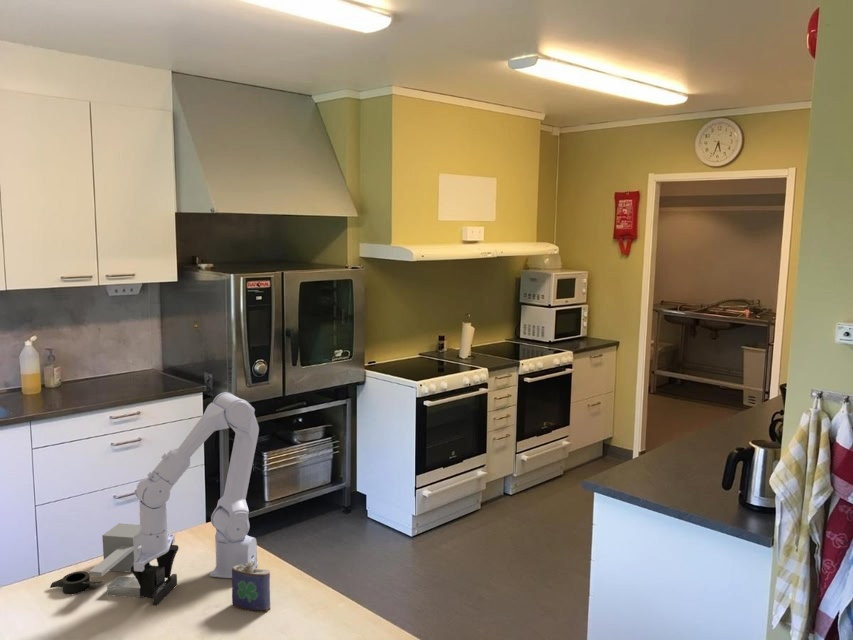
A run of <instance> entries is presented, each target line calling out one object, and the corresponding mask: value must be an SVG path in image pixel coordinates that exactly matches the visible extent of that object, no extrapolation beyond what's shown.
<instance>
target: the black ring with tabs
mask: <svg viewBox="0 0 853 640" xmlns="http://www.w3.org/2000/svg"><path fill="white" fill-rule="evenodd" d="M102 582H103V581H102V580H91V577H90V576H89V571H83V570H82V571H80V570H79V571H74V572H71V573H68V574H65V575H64V577H62V578H60V579H58V580H56V581H53V582H52V583H51V584H50V586H49V588H50V589H51V588H52V589H53V588H61V590H62V593H63V594H65V595H68V594H69V596H70V595H71V596H72V594H73V595H77V594H81V593H83V592H86V591H88V590H89V589H90V587H91V585H97V584H101V583H102Z"/></svg>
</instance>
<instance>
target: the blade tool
mask: <svg viewBox="0 0 853 640" xmlns="http://www.w3.org/2000/svg"><path fill="white" fill-rule="evenodd" d="M150 565H151V566H153V567H158V569H157V572H156V575H155V580H154V592H153V594H152V595H151V596H150V595H143V593H142V590H141V587H140V585H139V582H138V580H137V579H136V577H135V576H134V577H133V576H124V575H123V576H121V575H117V576H116V577H115V578H114V579H113V580H112V581H110V582H109V583H108V584H107V585H106V588H107V589H106V590H107V591H106V593H107V596H110V595H115V596H114V597H121V596H126V597H125V598H132V597H135V599H141V598H145V597H147V599H152V606H155V607H156V606H157V605H158V606H159V604H161V603H162V602H163V601H164V600H165V598H166V597H168V595H170V593H171V592H173V590H174V589H175V588H176V587H177V586H178V574H177V573H171V574H170V577H169V578H165V571H164V566H158V565H152V564H150ZM176 585H177V586H176ZM175 586H176V587H175ZM174 587H175V588H174ZM140 597H141V598H140Z"/></svg>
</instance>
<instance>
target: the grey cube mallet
mask: <svg viewBox="0 0 853 640" xmlns="http://www.w3.org/2000/svg"><path fill="white" fill-rule="evenodd" d="M101 538H102V552H103V553H102V555H103V560H101V561H100V562H99V563H97V565H95V566H93V568H91V569H90V570H89V571H88V573H89V576H91V577H104V575H106V574H107V573H108V572H109V571H111V572H113V571H114V572H122V571H127V573H132V572H131V567H132V566H133V565H134V562H135V561H136V560H137V557H138V555H139V553H140V552H138V551H137V548H138V547H139V546H141V531H140V524H133V523H132V524H131V523H117V524H116V525H115V526H112V527H111V528H110V529H109V530H107V531H106V532H105V533H103V534H102V537H101Z"/></svg>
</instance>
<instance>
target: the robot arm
mask: <svg viewBox="0 0 853 640" xmlns="http://www.w3.org/2000/svg"><path fill="white" fill-rule="evenodd" d="M205 408H206V409H205V411H204V413H203V415H201V417H200V419H199V420H198V421H197V423H196V424H195V425H194V427H193V428H192V430H191V431H190V432H189V434H188V435H187V436H186V437H185V439H184V440H183V441H182V442H181V444H180V445H179V447H178V448H174V449H170V450H169V451H168V452H167V453H164V454H163V455H162V456H161V461H160V462H159V463H158V464H157V465H156V466H155V468H154V469H153V470H152V471H150V472H149V473H148V474H147V476H146V477H144V478H142V479H141V480H140V481H139V482H138V484H137V485H136V489H135V490H134V493H135V496H136V497H137V499H138V500H139V525H140V531H141V546H139V547H138V548H137V551H138V552H140V553H139V555H138V557H137V560H136V561H135V562H134V565H133V566H132V567H131V572H130V573H131V574H132V575H133V576H134V577H136V579H137V580H138V582H139V585H140V587H141V590H142V593H143V595H150V596H151V595H152V594H153V592H154V580H155V575H156V572H157V569H158V567H153V566H154V565H153V566H151V565H152V564H151V563H150V562H153V560H156V562H157V566H164V571H165V579H168V578H169V577H170V576H171V575H172V569H173V564H174V560H175V557H176V554H178V553H177V552H178V551H179V545H177V544H174V543H176V538H175V537H176V535H175V534H173V533H169V531H168V515H167V514H168V513H167V502H168V500H170V496H171V491H172V489H173V487H174V486H175V484H176V483H177V482H178V481H179V479H180V478H181V477H182V476H183V475H184V473H185V472H186V471H187V470H188V468H189V467H190V466H191V457H192V456H193V455H194V454H195V453H196V452H197V450H198V449H199V448H200V447H201V446H202V445H203V444H204V443H205V442H206V441H207V440H208V439H209V437H210V436H211V435H212V434H213V433H214V432H216V431H220V430H227V429H229V428H231V429H232V431H233V432H234V433H235V435H234V440H233V445H232V451H231V455H230V461H229V465H228V466H229V467H228V472H227V476H226V481H225V486H224V492H223V494H222V496H221V497H220V498H219V499H218V500H217V505H216V507H215V508H214V510H213V512H212V513H211V516H210V522H211V524H212V527H214V528H215V531H216V532H215V535H214V536H215V544H214V545H215V565H216V566H215V568H214V569H213V570H212V571H211V572H210V574H209V577H211V578H221V579H232V568H233V567H234V566H236V565H240V564H242V565H243V566H245V567H246V563H248V562H250V563H252V562H251V561H253V562H254V564H253V568H254V569H257V567H258V565H259V562H258V543H257V538H256V537H253V536H249V535H248V533H249V531H250V528H251V526H250V521H249V513H250V510H249V507H248V503H247V500H246V499H247V495H248V489H249V483H250V478H251V474H252V468H253V463H254V459H255V455H256V454H255V453H256V447H257V444H258V438H259V434H260V433H259V432H260V426H259V423H258V420H257V418H256V414H255V411H256V409H255V407H253V406H252V404H251V403H249V402H248V400H245V399H243V398H240V397H238V396H236V395H234V394H233V393H232V392H226V391H225V392H221V393H219V394H217V395H216V396H215V397H214V399H213V400H212V402H210V403H209V404H208V405H207V407H205Z"/></svg>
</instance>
